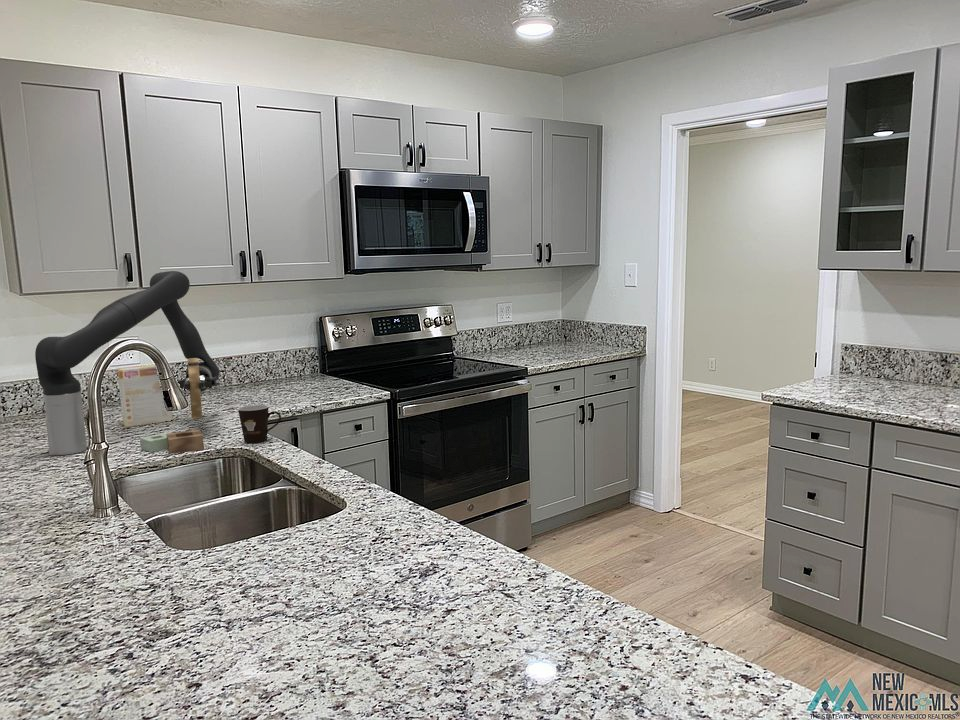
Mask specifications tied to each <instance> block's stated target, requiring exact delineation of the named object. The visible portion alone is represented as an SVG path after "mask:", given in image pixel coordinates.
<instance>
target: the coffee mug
mask: <svg viewBox="0 0 960 720" xmlns="http://www.w3.org/2000/svg"><path fill="white" fill-rule="evenodd" d="M237 411H238V416H239V421H240V426H241V427H240V428H241V430H242V431H241V432H242V436H243V441H244V443H245V444H252V445H253V444H260V443H265V442H267V441H268V433H269V432H270V430H273V429H274V428H275V427H277V426H278V425H279V423H280V422H281V421H282V416H281V413H280V412H278V411H276V410H272V411H270V412H269V405H267V404H266V405H265V404H254V405H245V406H241V407H238V409H237ZM272 414H275V415H277V416H278V420H277V422H276V423H275V424H274V425H272V426H271V427H269V424H268V423H269V418H270V416H271V415H272Z"/></svg>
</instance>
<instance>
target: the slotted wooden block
mask: <svg viewBox="0 0 960 720" xmlns="http://www.w3.org/2000/svg"><path fill="white" fill-rule="evenodd" d="M165 434H166V435H167V442H168V449H167V450H168V453H169V455H170V454H178V453H179V454H180V453H185V452H193V451H200V450H201V451H202V450H204V449H205V446H204V444H205V443H204V435H203V433H202V431H201V430H200V429H193V430H186V431H185V430H184V431H177V432H170V433H165Z"/></svg>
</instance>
